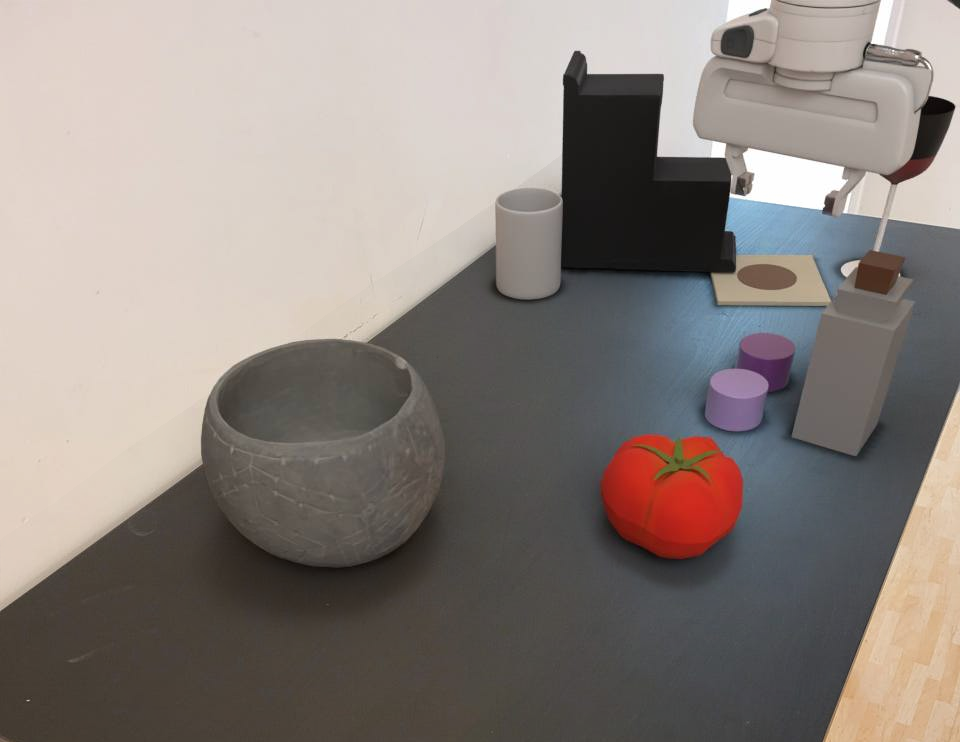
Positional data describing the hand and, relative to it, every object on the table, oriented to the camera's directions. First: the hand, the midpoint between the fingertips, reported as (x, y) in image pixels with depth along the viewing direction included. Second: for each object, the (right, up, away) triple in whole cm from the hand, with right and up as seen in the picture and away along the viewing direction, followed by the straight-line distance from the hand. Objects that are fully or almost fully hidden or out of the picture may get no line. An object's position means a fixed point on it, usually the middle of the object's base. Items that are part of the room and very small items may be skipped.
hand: (785, 203), depth 90 cm
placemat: (+8, +5, +33) cm, 34 cm away
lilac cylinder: (-2, -18, +10) cm, 21 cm away
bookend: (-6, +11, +39) cm, 41 cm away
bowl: (-43, -32, -2) cm, 53 cm away
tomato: (-12, -32, -3) cm, 34 cm away
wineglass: (+22, +7, +34) cm, 41 cm away
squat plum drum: (+2, -12, +16) cm, 20 cm away
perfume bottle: (+8, -20, +8) cm, 23 cm away
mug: (-23, +6, +35) cm, 42 cm away
